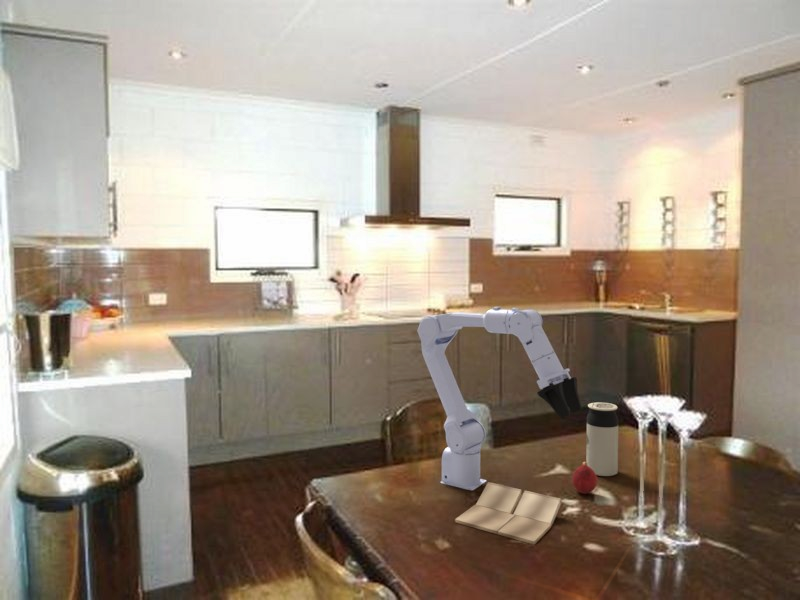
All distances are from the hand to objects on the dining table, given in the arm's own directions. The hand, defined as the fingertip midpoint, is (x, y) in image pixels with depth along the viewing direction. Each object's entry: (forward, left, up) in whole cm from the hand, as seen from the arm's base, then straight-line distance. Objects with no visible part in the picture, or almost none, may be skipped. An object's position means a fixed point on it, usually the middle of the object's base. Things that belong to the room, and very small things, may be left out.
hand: (571, 414), depth 129 cm
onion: (-1, +13, -23) cm, 27 cm away
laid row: (-10, -14, -23) cm, 29 cm away
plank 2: (-6, -5, -21) cm, 22 cm away
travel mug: (-2, +31, -23) cm, 39 cm away
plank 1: (-15, -5, -21) cm, 26 cm away
